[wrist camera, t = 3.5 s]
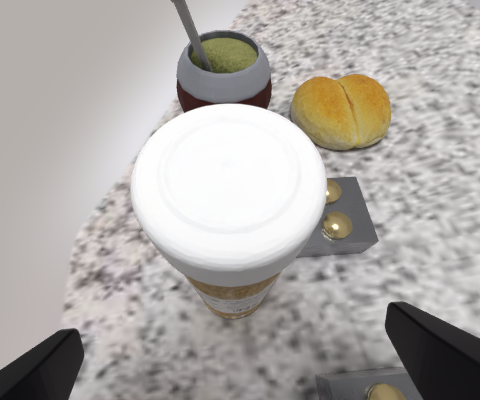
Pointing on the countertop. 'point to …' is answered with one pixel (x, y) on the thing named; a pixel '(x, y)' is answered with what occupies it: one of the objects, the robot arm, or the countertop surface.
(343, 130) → the bread roll
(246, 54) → the mate gourd
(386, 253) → the countertop surface
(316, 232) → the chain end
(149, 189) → the sprinkles bottle
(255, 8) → the countertop surface
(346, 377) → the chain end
